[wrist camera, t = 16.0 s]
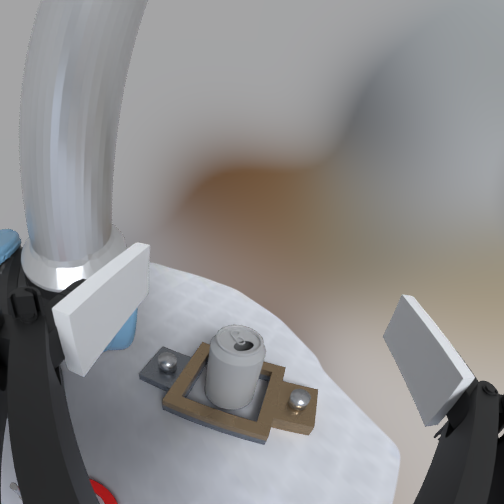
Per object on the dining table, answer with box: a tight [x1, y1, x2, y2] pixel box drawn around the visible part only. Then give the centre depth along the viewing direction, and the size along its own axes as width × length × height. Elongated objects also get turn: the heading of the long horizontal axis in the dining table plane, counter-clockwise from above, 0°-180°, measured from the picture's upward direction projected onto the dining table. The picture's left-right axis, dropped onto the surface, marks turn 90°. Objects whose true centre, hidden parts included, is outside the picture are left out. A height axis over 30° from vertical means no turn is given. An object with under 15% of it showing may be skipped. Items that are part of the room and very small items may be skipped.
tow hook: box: [10, 479, 117, 504], centre depth 13 cm, size 8×13×9 cm
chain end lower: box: [139, 347, 270, 445], centre depth 39 cm, size 21×15×3 cm
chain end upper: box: [162, 342, 318, 441], centre depth 38 cm, size 21×15×4 cm
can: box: [205, 325, 266, 410], centre depth 37 cm, size 8×8×12 cm
